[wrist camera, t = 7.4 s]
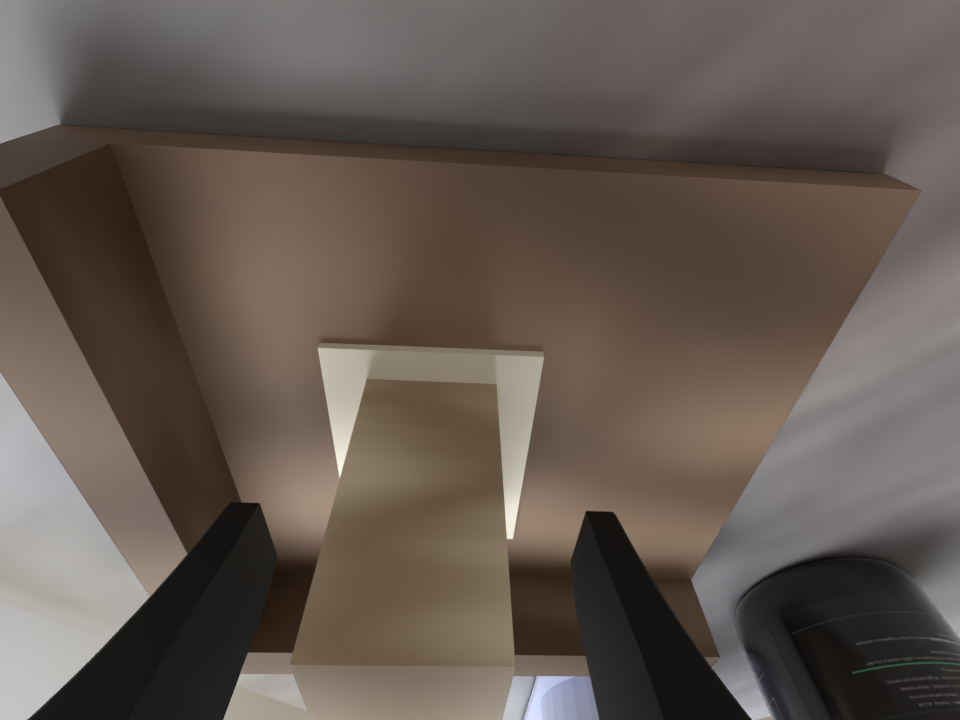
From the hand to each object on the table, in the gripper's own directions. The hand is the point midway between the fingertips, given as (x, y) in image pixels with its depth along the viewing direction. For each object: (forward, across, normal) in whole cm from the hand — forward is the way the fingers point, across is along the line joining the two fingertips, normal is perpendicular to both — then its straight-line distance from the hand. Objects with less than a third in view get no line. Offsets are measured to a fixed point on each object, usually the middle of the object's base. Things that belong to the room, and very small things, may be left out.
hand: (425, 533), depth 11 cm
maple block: (+2, 0, 0) cm, 2 cm away
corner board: (+3, -1, 0) cm, 4 cm away
